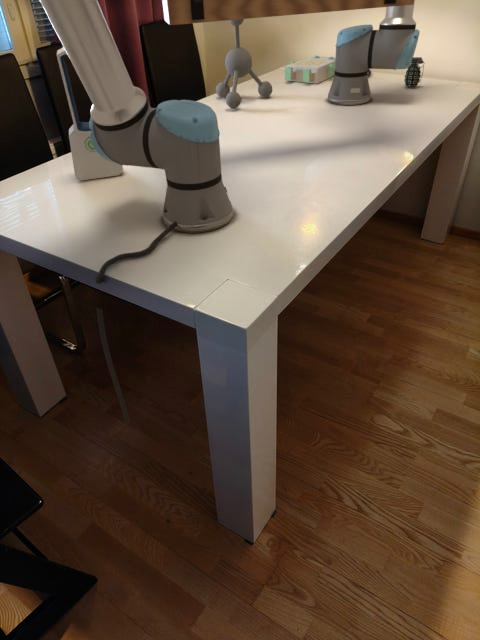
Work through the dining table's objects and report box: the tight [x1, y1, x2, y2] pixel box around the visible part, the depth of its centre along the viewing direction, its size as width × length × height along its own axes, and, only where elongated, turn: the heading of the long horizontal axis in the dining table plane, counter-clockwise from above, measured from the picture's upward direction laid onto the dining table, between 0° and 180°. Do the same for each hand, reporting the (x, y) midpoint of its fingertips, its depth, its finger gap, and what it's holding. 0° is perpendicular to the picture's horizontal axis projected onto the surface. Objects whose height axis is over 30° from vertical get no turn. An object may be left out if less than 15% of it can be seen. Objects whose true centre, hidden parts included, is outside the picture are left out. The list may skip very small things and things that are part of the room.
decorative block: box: [284, 55, 335, 84], centre depth 206 cm, size 26×6×20 cm
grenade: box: [404, 56, 426, 89], centre depth 185 cm, size 7×6×10 cm
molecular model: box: [215, 19, 273, 109], centre depth 175 cm, size 24×22×30 cm
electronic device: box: [56, 46, 124, 181], centre depth 122 cm, size 12×8×30 cm, turn 105°
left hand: (194, 17), depth 113 cm, fingers closed on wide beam, 10 cm apart
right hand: (380, 1), depth 121 cm, fingers closed on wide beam, 10 cm apart
